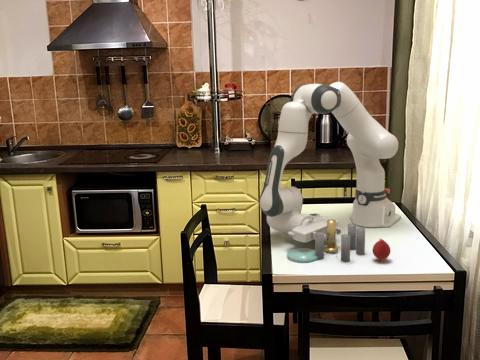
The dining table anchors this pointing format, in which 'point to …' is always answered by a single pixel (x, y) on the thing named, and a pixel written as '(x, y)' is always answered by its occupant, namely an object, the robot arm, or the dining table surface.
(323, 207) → the dining table surface
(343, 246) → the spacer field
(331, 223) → the bolt
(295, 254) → the saucer
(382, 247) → the pomegranate
